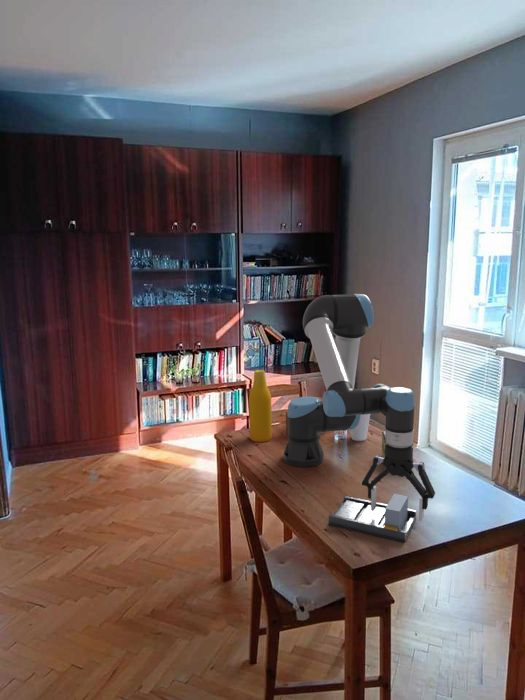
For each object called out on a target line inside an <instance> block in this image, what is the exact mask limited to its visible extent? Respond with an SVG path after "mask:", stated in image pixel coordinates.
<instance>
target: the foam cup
mask: <svg viewBox="0 0 525 700" xmlns="http://www.w3.org/2000/svg"><path fill="white" fill-rule="evenodd" d="M371 415H372V414H365V415H361V417H360V421H359V424H358V425H357V427H356V428H354V429H349V433H350V437H351V439H352V440H353V441H356V442H362V441H366V440H367V438H368V432H369V431H368V430H369V425H370V418H371Z"/></svg>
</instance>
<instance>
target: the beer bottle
mask: <svg viewBox="0 0 525 700" xmlns="http://www.w3.org/2000/svg"><path fill="white" fill-rule="evenodd" d="M252 384H253V385H252V388H251V389H250V392H249V396H248V404H249V405H248V406H249V437H250V440H252V441H253V442H259V443H263V442H268V441H270V440H271V439H272V438H273V430H272V429H273V426H272V425H273V424H272V423H273V422H272V395H271V392H270V389H269V387H268V385H267V379H266V371H265V370H264V369H256V370H254V373H253V383H252Z"/></svg>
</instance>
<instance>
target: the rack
mask: <svg viewBox="0 0 525 700" xmlns="http://www.w3.org/2000/svg"><path fill="white" fill-rule="evenodd" d="M387 505H388V504H387V503H383V502H377V501H376V508H375V510H374V511H371V500H368V499H363V498H359V497H358V498H357V497H354V496H353V497H352V496H348V495H344V496H343V501H342V502H341V503H340V504H339V506H338V507H337V508H336V510H334V512H333V513H332V514H329V515H328V526H331V527H335V528H338V529H339V528H340V529H343V530H348V531H352V532H356V533H359V534H364V535H369V536H373V537H378V538H382V539H386V540H392V541H396V542H398V543H406V541H407V539H408V536H409V534H410V533H411V530H412V528H413V526H414V525H415V523H416V519H417V510H415V509H411V508H408V511H407V520H406V522H405V524H404V526H403V528H402V530H399V529H398V527H393V526H389V525H385V508H386V506H387Z"/></svg>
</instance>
